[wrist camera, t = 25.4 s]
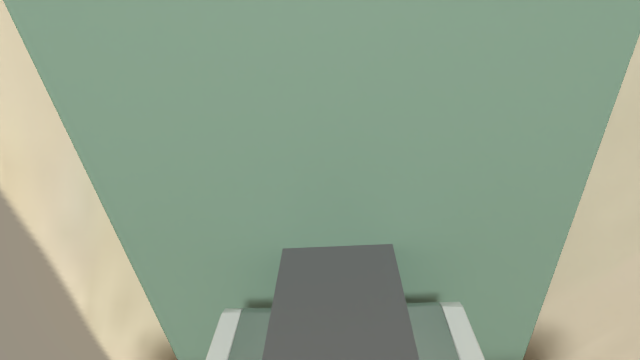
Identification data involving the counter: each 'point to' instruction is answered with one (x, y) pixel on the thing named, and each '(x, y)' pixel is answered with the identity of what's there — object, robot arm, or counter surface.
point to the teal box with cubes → (336, 155)
